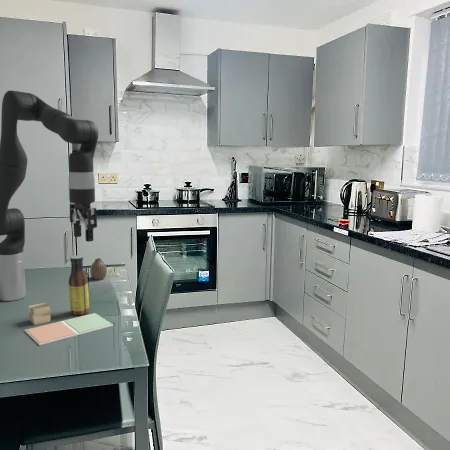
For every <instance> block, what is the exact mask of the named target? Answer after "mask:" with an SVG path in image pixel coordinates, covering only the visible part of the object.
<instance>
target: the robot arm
mask: <svg viewBox="0 0 450 450" xmlns="http://www.w3.org/2000/svg"><path fill="white" fill-rule="evenodd" d="M1 101H2V102H1V122H0V123H1V128H0V129H1V131H0V237H1V236H6V237H5V238H4V239H3V240H2V241H1V242H0V301H3V302H4V301H5V302H12V301H18V300H22V299H24V298H26V296H27V291H26V274H25V273H26V271H25V270H26V269H25V256H24V253H25V252H24V247H25V243H26V233H25V232H26V231H25V230H26V228H25V227H26V223H25V221H26V220H25V217H24V214H23V212H22V211H21V210H20V208H16V207H11V208H9V206H10V202H11V199H12V198H13V196H14V195H15V194H16V192H17V191H18V189H19V188H20V187H21V185H22V184H23V182H24V181H25V179H26V175H27V168H28V167H27V166H28V156H27V154H26V151H25V149H24V147H23V145H22V143H21V142H20V139H19V136H18V121H25V122H32V121H33V122H40V123H42V125H43V127H45V129H47V130H48V131H50V132H52V133H55V134H57V135H58V137H60V138H61V139H62V140H63V141H64V142H66V143H68V144H69V143H70V144H76V145H78V144H79V145H80V146H79V149H78V150H76V151H72V152H71V153H70V154H69V155H68V172H69V173H68V198H69V202H70V203H69V223H72V226H73V237H75V238H81V237H82V224H83V225H84V228H85V231H84V232H85V233H84V235H85V242H88V243H89V242H94V229H96V228H98V219H97V217H98V216H97V215H98V214H97V208H96V207H92V206H91V204H92V203H95V201H96V189H95V183H96V181H95V175H94V156H95V152H96V148H97V144H98V141H99V129H98V126H97V125H96V123H95V121H92V120H88V119H86V120H85V119H75V118H74V117H73V116H72V115H70V114H69V113H67V112H64V111H62V110H59V108H58V109H57V108H55V107H52V106H50V105H49V104H48V103H46V102H45V101H44V100H42V99H41V98H40V97H39V96H37V95H35V94H33V93H31V92H24V91H18V90H7V91H6V92H5V93H4V95H3V98H2V100H1Z"/></svg>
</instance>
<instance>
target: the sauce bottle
mask: <svg viewBox="0 0 450 450" xmlns="http://www.w3.org/2000/svg"><path fill="white" fill-rule="evenodd" d="M83 261H84V256H83V255H71V257H70V265H71V267H70V274H69V278H68V290H69V291H68V293H69V295H68V296H69V308H70V312H71V314H72V315H74V316H83V315H87V314H88V313H89V312H90V295H89V281H88V275H87V273H86V272H85V270H84V263H83Z"/></svg>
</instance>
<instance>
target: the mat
mask: <svg viewBox="0 0 450 450" xmlns="http://www.w3.org/2000/svg"><path fill="white" fill-rule="evenodd" d="M111 327H114V324H113V323H111V322H110V321H108V320H107V319H105V318H104V317H102V316H101V315H99V314H98V313H95V312H93V313H90V314H84V315H80V316H77V317H73V318H69V319H64V320H61V321H57V322H52V323H47V324H44V325H39V326H34V327H31V328H27V329H24V332H25V333H26V334H27V335H28V336H29V337H30V338H31V339H32V340H33V341H34V342H35V343H36V344H37V345H38V346H43V345H48V344H51V343H55V342H59V341H62V340H65V339H70V338H74V337H77V336H81V335H85V334H88V333H92V332H96V331H99V330H100V331H101V330H103V329H107V328H111Z"/></svg>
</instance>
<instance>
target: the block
mask: <svg viewBox="0 0 450 450" xmlns="http://www.w3.org/2000/svg"><path fill="white" fill-rule="evenodd" d="M28 317H29V318H28V319H29V322H31V323H32V324H33V325H34V326H36V325H41V324H45V323H49V322H51V306H49V305H48V304H47V303H46V302H41V303H36V304H33V305H32V304H31V305H28Z"/></svg>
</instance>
